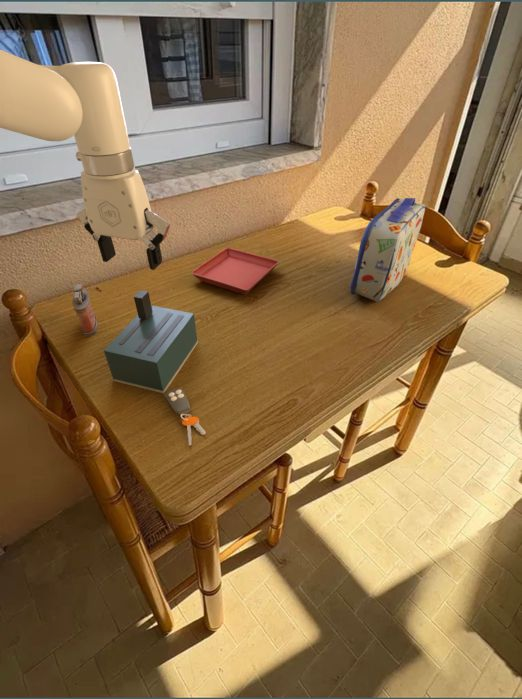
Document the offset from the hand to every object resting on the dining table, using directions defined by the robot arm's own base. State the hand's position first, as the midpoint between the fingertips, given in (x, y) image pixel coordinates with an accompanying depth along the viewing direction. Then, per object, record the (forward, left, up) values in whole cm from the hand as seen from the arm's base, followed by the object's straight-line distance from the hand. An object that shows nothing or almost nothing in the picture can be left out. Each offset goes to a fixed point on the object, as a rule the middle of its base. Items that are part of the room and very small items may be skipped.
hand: (132, 262), depth 70 cm
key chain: (+15, -15, -21) cm, 30 cm away
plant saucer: (+7, +35, -21) cm, 41 cm away
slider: (0, +1, -13) cm, 13 cm away
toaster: (+3, -3, -21) cm, 21 cm away
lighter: (-18, +3, -21) cm, 28 cm away
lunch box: (+46, +43, -21) cm, 67 cm away
